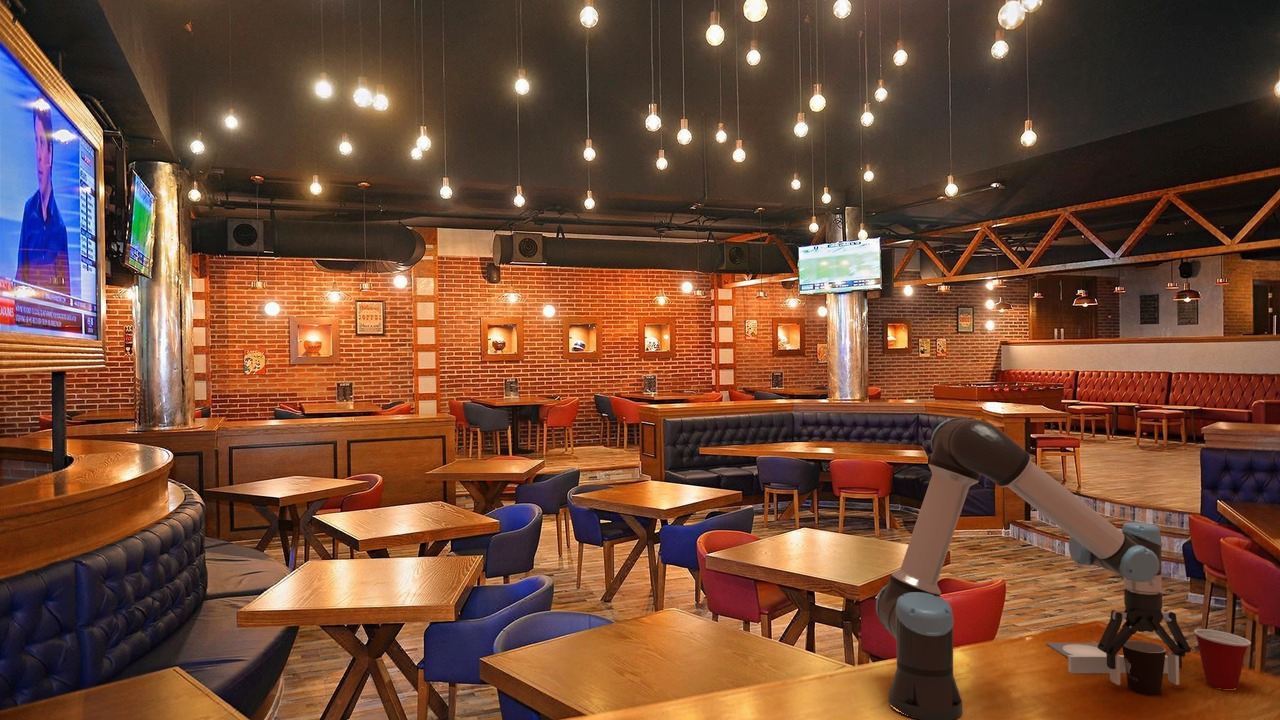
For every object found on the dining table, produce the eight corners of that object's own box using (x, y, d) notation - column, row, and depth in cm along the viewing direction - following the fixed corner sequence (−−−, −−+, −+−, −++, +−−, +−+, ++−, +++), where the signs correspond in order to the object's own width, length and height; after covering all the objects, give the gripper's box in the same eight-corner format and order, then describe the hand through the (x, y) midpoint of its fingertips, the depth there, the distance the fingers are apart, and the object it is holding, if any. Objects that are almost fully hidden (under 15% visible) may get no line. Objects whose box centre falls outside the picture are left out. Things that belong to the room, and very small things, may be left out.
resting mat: (1074, 662, 202) (1074, 660, 202) (1046, 644, 216) (1046, 642, 216) (1129, 662, 202) (1129, 660, 202) (1097, 644, 216) (1097, 642, 216)
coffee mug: (1167, 700, 178) (1166, 655, 178) (1121, 692, 183) (1121, 648, 183) (1166, 684, 188) (1165, 641, 188) (1123, 676, 192) (1123, 634, 193)
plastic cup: (1262, 697, 180) (1261, 643, 180) (1208, 693, 182) (1207, 640, 182) (1236, 679, 190) (1235, 629, 191) (1186, 676, 193) (1185, 626, 193)
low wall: (1071, 673, 194) (1070, 656, 195) (1068, 671, 196) (1068, 655, 196) (1169, 673, 195) (1168, 656, 195) (1165, 671, 196) (1165, 655, 196)
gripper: (1098, 594, 182) (1100, 688, 181) (1207, 594, 182) (1209, 688, 181) (1080, 586, 189) (1081, 676, 189) (1185, 586, 190) (1186, 676, 189)
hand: (1144, 682), depth 185 cm, fingers open, 13 cm apart
